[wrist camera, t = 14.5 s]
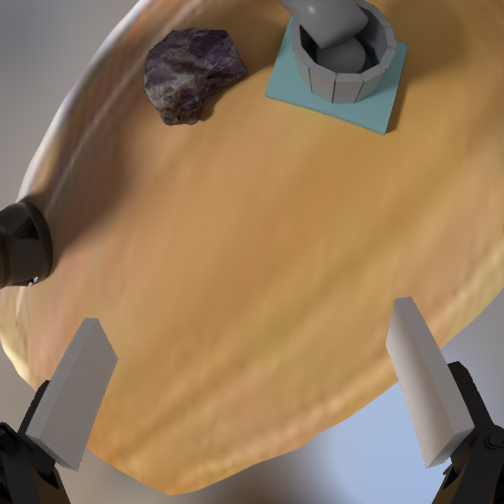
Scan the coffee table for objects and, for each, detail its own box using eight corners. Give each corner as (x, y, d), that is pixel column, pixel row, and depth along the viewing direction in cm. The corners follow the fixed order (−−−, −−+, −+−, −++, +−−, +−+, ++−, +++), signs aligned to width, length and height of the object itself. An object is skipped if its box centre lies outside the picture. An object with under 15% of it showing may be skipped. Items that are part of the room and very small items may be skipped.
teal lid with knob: (266, 97, 35) (257, 85, 29) (294, 14, 31) (289, -7, 26) (382, 134, 33) (392, 129, 28) (405, 48, 29) (416, 31, 24)
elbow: (395, 81, 30) (425, 43, 18) (329, 118, 32) (332, 91, 21) (340, 12, 29) (343, -46, 17) (275, 46, 31) (254, -3, 20)
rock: (258, 87, 36) (216, 32, 34) (254, 61, 27) (204, -1, 26) (177, 138, 37) (141, 80, 36) (153, 125, 29) (113, 59, 28)
